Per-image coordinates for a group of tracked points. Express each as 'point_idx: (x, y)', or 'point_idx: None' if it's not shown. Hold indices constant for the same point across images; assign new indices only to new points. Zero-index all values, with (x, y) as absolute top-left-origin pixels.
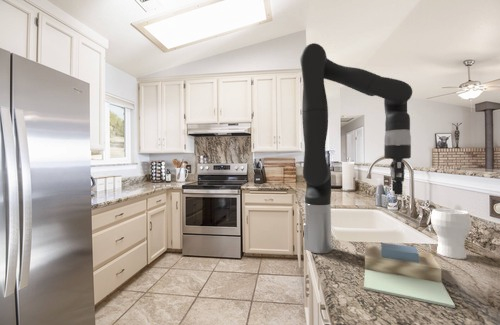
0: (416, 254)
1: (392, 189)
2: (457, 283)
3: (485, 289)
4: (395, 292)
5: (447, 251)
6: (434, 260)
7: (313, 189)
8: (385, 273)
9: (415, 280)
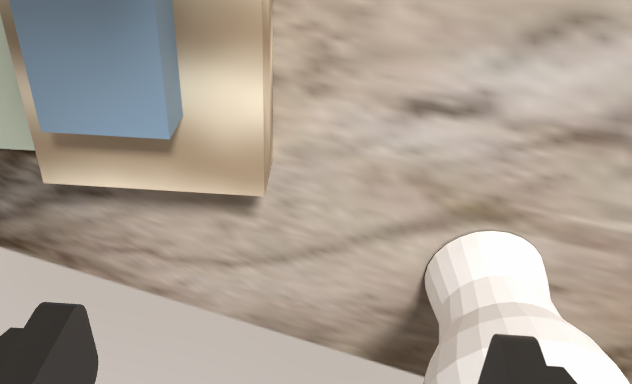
0: (41, 119)
1: (503, 349)
2: (120, 202)
3: (120, 265)
4: None
5: (441, 273)
6: (147, 184)
7: None
8: None
9: (8, 54)
